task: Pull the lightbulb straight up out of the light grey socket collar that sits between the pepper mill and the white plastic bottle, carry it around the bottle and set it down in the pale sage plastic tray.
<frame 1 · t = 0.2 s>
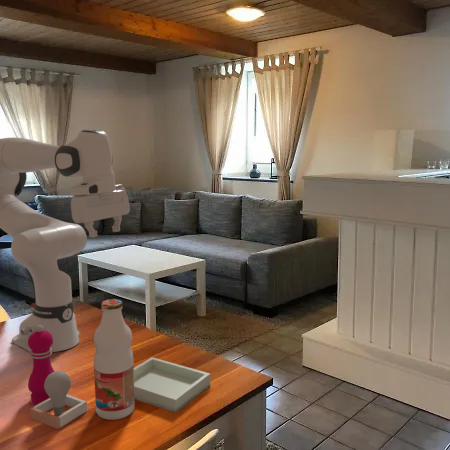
hand: (105, 234, 143), 39 cm above the table, tool pointing down, fingers open, 8 cm apart
lightbulb: (59, 415, 121), resting in socket collar
pepper mill: (44, 399, 128), on the table
socket collar: (59, 414, 121), on the table
tray: (163, 388, 133), on the table
white plastic bottle: (115, 411, 123), on the table
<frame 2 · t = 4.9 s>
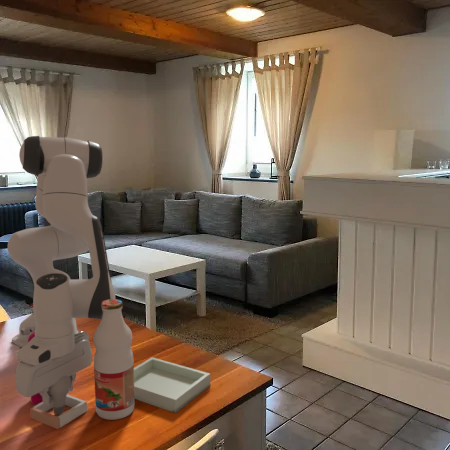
hand: (58, 396, 120), 5 cm above the table, tool pointing down, fingers closed on lightbulb, 5 cm apart
lightbulb: (59, 415, 121), resting in socket collar, touching gripper
everything else where it was.
when the fingers open (7 cm above the table, at t = 13.1 s): lightbulb drops 1 cm, resting on tray.
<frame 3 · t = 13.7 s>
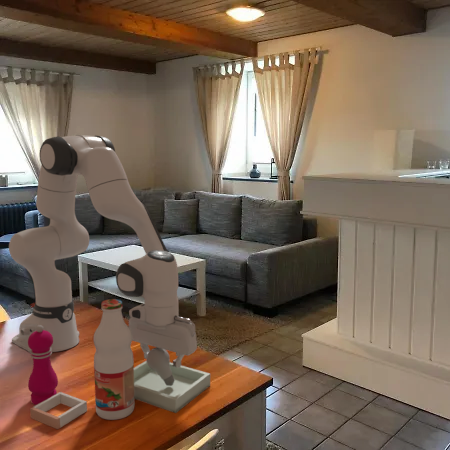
hand: (162, 362, 132), 8 cm above the table, tool pointing down, fingers open, 8 cm apart
lightbulb: (172, 385, 132), point 1 cm above the table, touching gripper, tray
everything else where it was.
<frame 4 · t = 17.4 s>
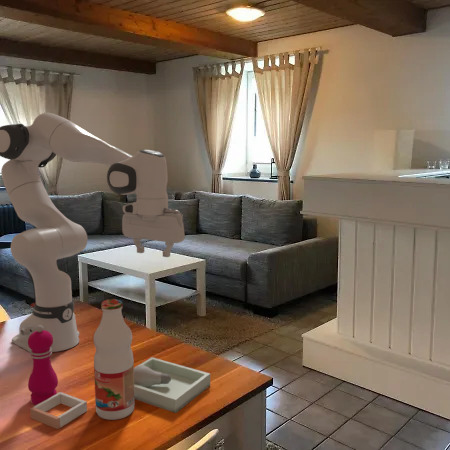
hand: (153, 254, 144), 33 cm above the table, tool pointing down, fingers open, 8 cm apart
lightbulb: (171, 379, 133), point 3 cm above the table, touching tray
everything else where it was.
at the end: lightbulb inside the target area on the tray (2.5 cm from its centre), point 2.7 cm above the tray's base; the gripper is holding nothing; pepper mill moved 0.2 cm from its start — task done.
